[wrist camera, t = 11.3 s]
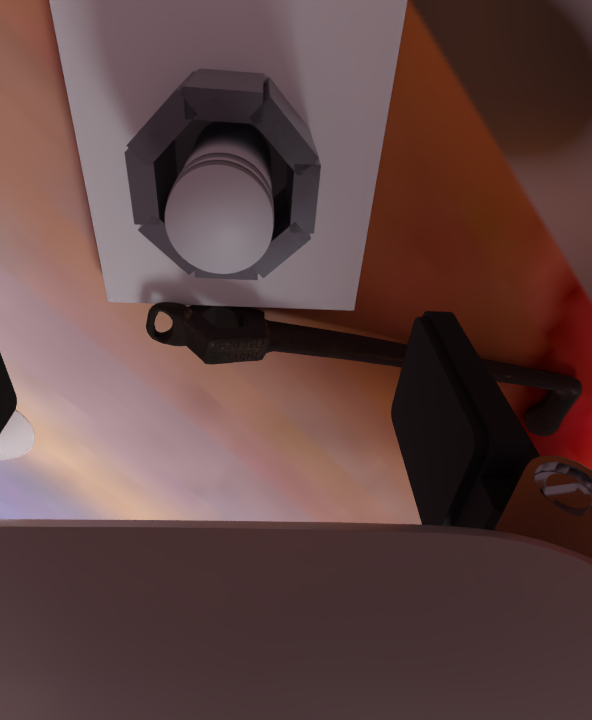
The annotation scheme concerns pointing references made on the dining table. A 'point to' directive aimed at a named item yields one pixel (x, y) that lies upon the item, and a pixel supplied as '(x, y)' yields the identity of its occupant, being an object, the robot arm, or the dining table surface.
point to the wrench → (332, 351)
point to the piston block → (231, 139)
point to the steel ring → (239, 105)
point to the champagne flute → (16, 437)
